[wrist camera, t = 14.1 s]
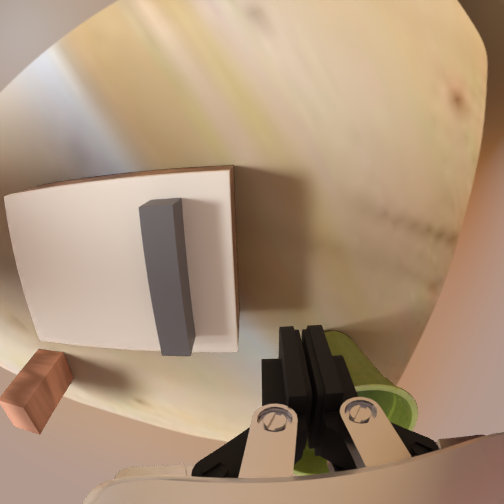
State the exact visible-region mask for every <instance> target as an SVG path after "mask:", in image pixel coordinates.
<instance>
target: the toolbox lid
mask: <svg viewBox="0 0 504 504" xmlns="http://www.w3.org/2000/svg"><path fill="white" fill-rule="evenodd" d="M4 202H5V209H6V216H7V222H8V228H9V233H10V238H11V243H12V248H13V253H14V257H15V261H16V266H17V270H18V274H19V277H20V281H21V285H22V289H23V292H24V295H25V299H26V302H27V305H28V309H29V312H30V315H31V318H32V321H33V324H34V327H35V330H36V332H37V335H38V338H39V341H46V342H53V343H61V344H70V345H79V346H90V347H101V348H113V349H127V350H145V351H161V353H162V355H164V356H191V353H192V352H238V333H237V316H236V298H235V279H234V258H233V237H232V214H231V190H230V170H217V171H198V172H182V173H168V174H156V175H145V176H134V177H124V178H115V179H106V180H98V181H90V182H82V183H75V184H68V185H61V186H55V187H48V188H42V189H36V190H30V191H24V192H19V193H13V194H9V195H6V196H4Z"/></svg>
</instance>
